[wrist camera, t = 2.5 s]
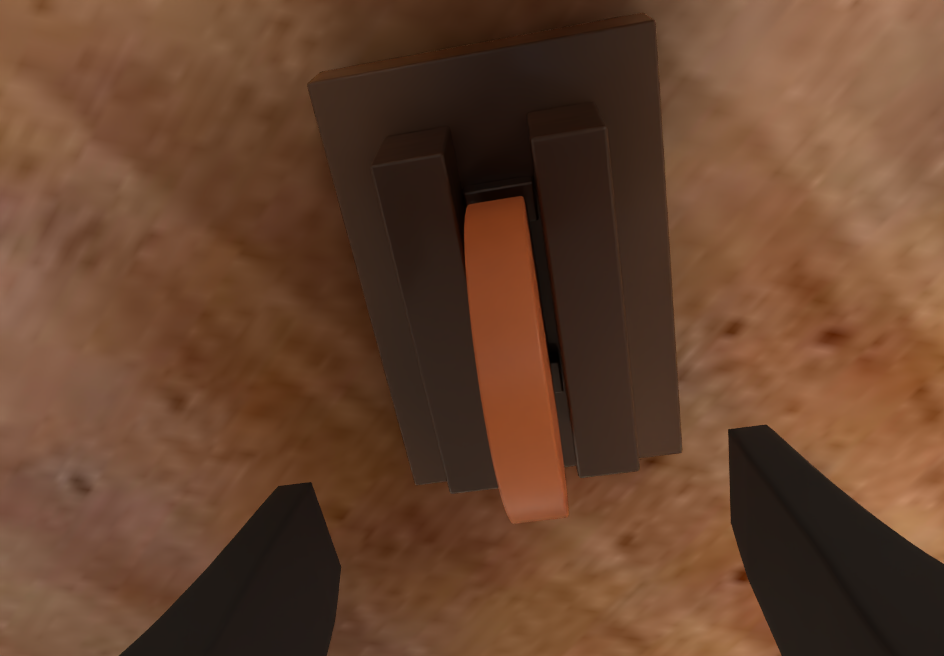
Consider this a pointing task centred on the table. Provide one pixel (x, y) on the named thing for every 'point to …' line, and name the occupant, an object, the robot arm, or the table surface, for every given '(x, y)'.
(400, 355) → the rack
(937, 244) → the table surface
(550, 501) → the disc
